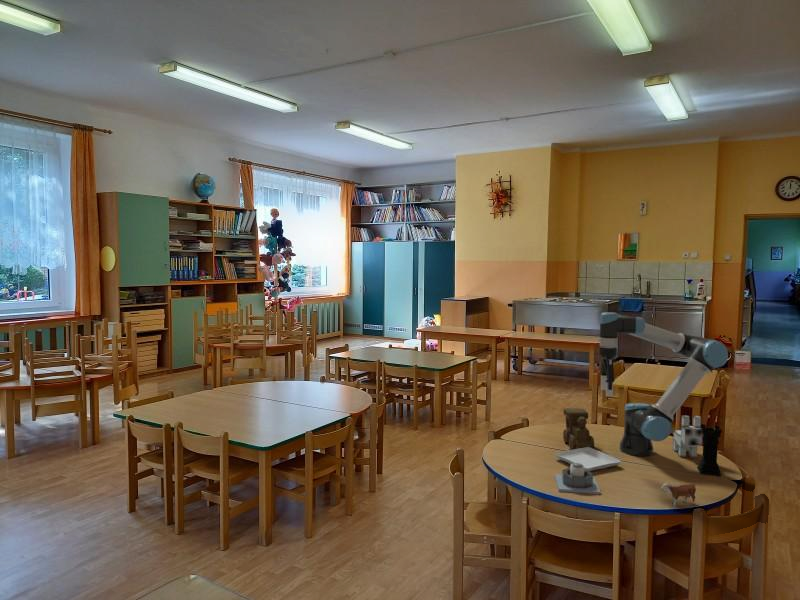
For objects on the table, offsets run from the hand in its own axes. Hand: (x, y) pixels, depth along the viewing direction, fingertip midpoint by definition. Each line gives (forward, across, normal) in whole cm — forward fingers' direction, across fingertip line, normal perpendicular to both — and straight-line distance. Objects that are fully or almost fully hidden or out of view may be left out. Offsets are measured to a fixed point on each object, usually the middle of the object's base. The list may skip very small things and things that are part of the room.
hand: (606, 393), depth 262 cm
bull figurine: (+32, +42, +20) cm, 56 cm away
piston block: (+32, +31, -16) cm, 47 cm away
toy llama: (+32, -17, +40) cm, 54 cm away
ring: (+31, +31, -16) cm, 46 cm away
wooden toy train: (+32, -20, -9) cm, 39 cm away
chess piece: (+32, +5, +43) cm, 54 cm away
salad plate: (+32, +4, -8) cm, 34 cm away
